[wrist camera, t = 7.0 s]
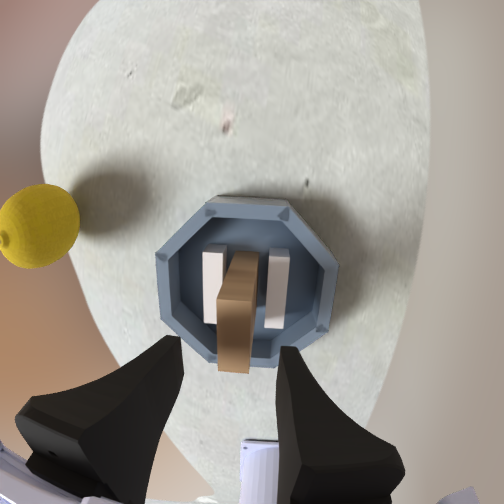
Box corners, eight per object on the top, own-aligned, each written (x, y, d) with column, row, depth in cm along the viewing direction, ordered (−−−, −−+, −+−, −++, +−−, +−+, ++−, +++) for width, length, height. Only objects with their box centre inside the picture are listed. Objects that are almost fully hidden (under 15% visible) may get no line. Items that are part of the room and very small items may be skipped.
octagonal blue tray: (316, 345, 22) (320, 370, 19) (176, 335, 23) (164, 357, 20) (335, 202, 19) (346, 210, 16) (169, 194, 19) (152, 200, 16)
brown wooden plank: (256, 307, 20) (248, 373, 14) (234, 306, 21) (218, 370, 14) (259, 251, 19) (251, 301, 13) (235, 250, 19) (216, 299, 13)
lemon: (41, 225, 21) (-26, 254, 13) (60, 166, 19) (-16, 178, 11) (86, 260, 21) (21, 303, 14) (109, 199, 20) (36, 224, 12)
